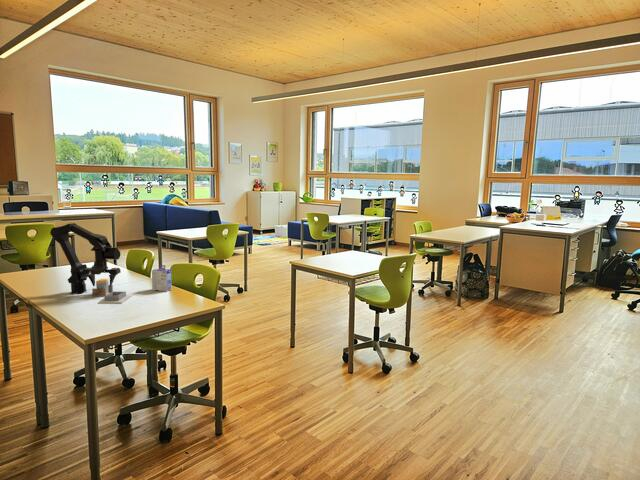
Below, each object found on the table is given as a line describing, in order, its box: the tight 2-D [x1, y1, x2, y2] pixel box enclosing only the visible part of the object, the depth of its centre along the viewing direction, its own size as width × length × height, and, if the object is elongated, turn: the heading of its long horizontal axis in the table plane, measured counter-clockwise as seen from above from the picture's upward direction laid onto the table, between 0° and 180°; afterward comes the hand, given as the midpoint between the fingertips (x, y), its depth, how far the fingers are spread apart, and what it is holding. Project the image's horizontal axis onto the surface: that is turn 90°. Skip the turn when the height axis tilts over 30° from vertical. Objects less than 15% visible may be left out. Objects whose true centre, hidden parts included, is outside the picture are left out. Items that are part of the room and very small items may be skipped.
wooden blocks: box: [91, 284, 114, 297], centre depth 247 cm, size 7×10×4 cm
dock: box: [97, 291, 133, 305], centre depth 235 cm, size 12×14×3 cm
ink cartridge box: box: [151, 264, 173, 292], centre depth 256 cm, size 10×6×14 cm, turn 78°
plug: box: [95, 278, 110, 295], centre depth 246 cm, size 4×6×8 cm, turn 2°
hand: (102, 286), depth 246 cm, fingers open, 9 cm apart
